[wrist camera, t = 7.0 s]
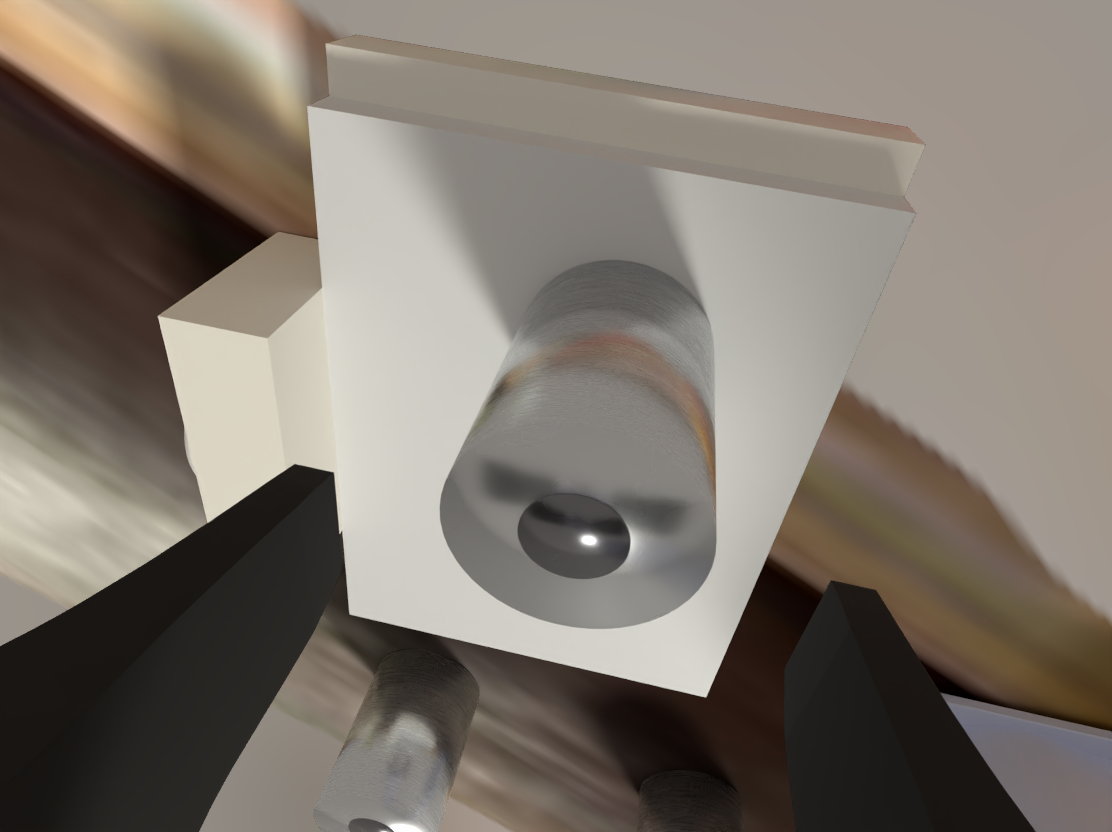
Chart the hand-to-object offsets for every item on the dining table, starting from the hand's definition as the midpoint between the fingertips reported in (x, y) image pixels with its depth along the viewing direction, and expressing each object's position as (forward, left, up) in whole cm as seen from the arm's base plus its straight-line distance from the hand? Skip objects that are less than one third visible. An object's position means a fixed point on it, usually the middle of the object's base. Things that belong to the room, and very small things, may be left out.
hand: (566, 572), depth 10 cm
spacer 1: (+5, +19, -9) cm, 22 cm away
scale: (+2, +4, -9) cm, 11 cm away
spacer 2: (0, 0, -7) cm, 7 cm away
